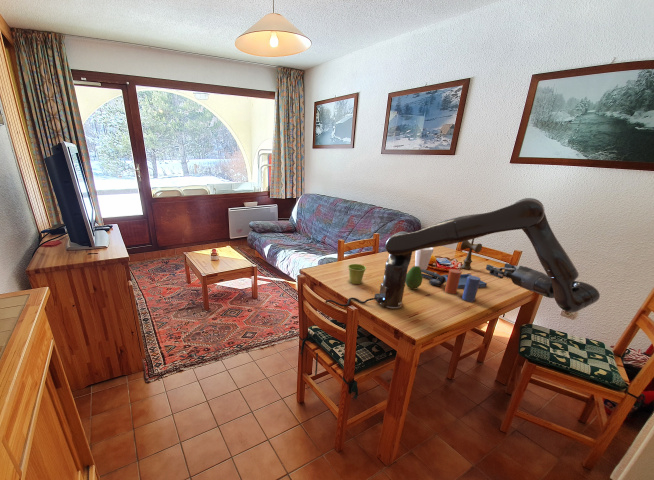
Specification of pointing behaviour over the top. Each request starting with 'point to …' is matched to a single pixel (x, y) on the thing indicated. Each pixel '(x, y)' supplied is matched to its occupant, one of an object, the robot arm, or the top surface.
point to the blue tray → (463, 281)
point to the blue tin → (471, 288)
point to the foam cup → (423, 257)
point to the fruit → (414, 277)
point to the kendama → (470, 252)
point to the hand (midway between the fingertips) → (496, 266)
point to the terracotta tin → (452, 281)
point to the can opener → (434, 281)
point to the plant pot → (356, 273)
